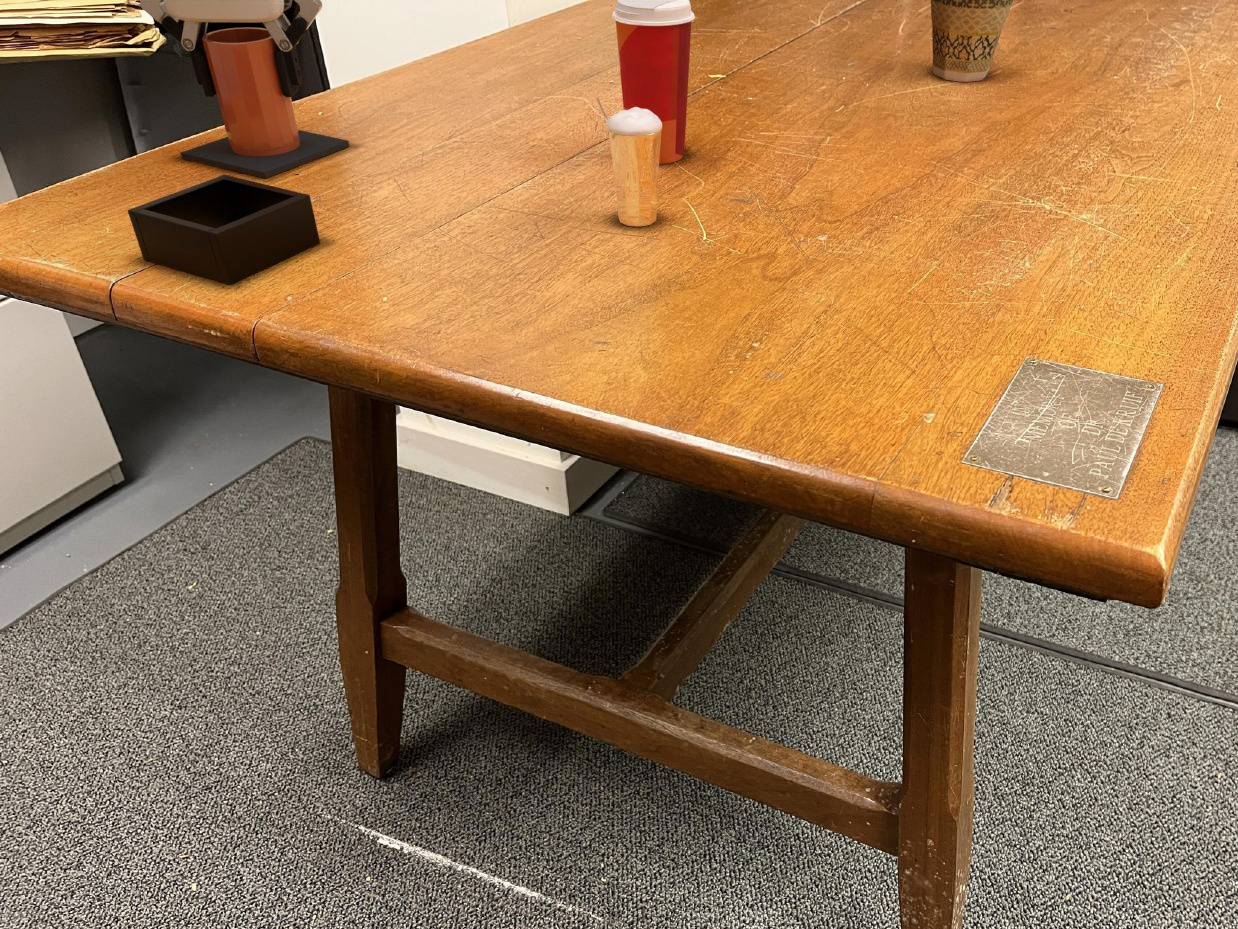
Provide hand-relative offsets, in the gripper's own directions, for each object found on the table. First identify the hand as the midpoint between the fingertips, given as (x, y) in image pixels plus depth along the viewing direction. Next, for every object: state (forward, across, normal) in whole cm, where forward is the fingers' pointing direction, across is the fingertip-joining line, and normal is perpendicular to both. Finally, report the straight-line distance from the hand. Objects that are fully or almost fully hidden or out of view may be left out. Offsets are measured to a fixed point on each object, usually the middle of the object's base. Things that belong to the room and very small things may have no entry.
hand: (253, 91), depth 100 cm
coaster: (+6, 0, 0) cm, 6 cm away
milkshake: (+6, +36, -17) cm, 41 cm away
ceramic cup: (+6, +77, +33) cm, 84 cm away
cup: (+5, 0, 0) cm, 5 cm away
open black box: (+6, +4, -24) cm, 26 cm away
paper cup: (+6, +38, 0) cm, 38 cm away
